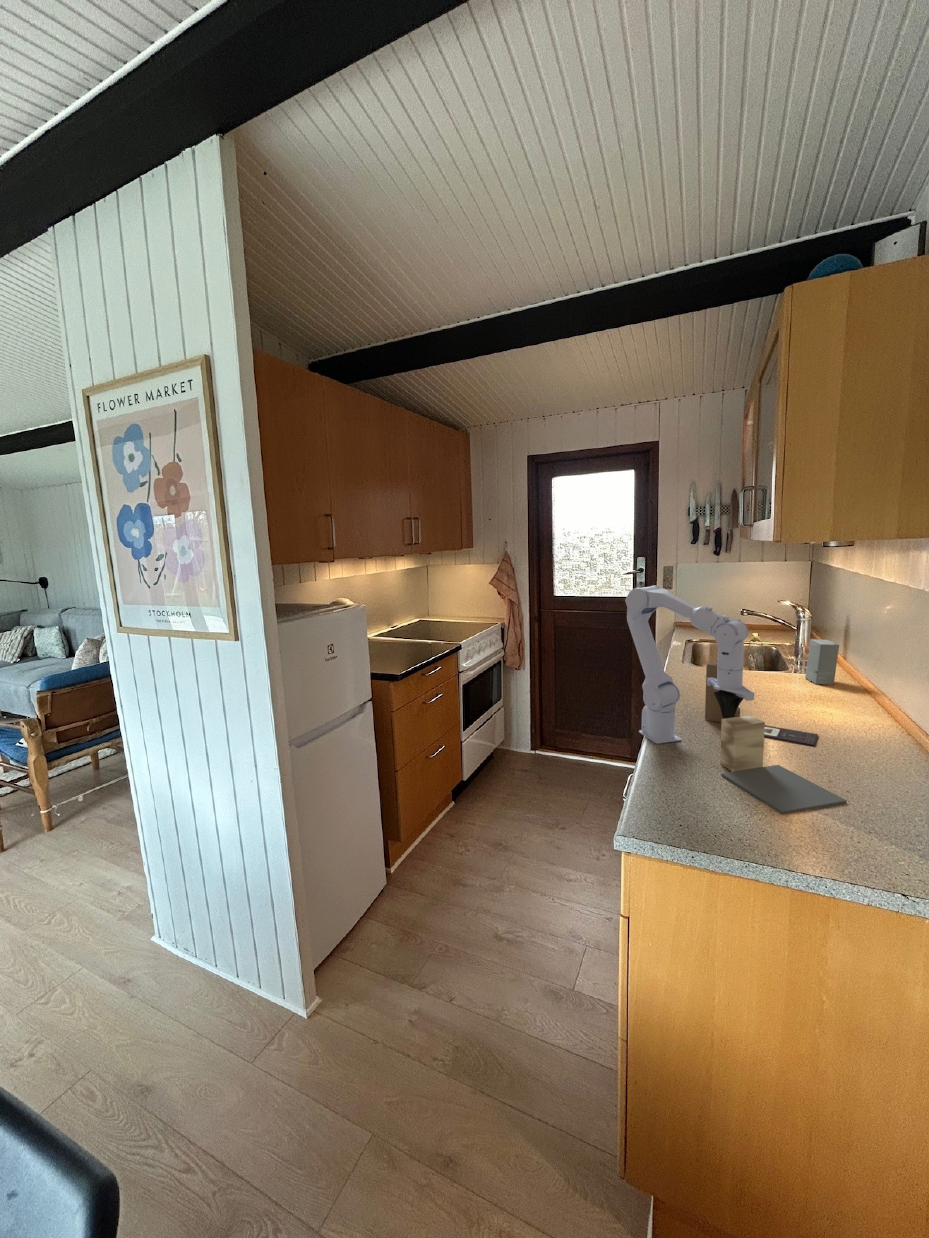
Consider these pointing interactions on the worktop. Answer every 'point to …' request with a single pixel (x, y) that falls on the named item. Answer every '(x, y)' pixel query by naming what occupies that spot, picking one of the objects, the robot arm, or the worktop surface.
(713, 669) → the wooden block
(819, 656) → the skincare box
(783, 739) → the chocolate bar
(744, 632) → the robot arm
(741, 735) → the birch block
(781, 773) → the mat
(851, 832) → the worktop surface
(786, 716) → the worktop surface
